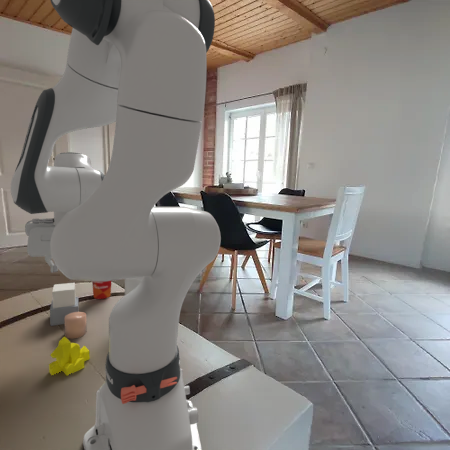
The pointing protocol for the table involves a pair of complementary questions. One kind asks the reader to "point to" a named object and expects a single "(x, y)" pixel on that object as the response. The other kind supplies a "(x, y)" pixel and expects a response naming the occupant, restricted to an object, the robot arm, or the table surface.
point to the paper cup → (101, 289)
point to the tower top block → (63, 295)
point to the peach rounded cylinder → (75, 325)
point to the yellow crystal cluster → (68, 357)
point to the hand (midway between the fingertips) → (75, 270)
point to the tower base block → (62, 313)
